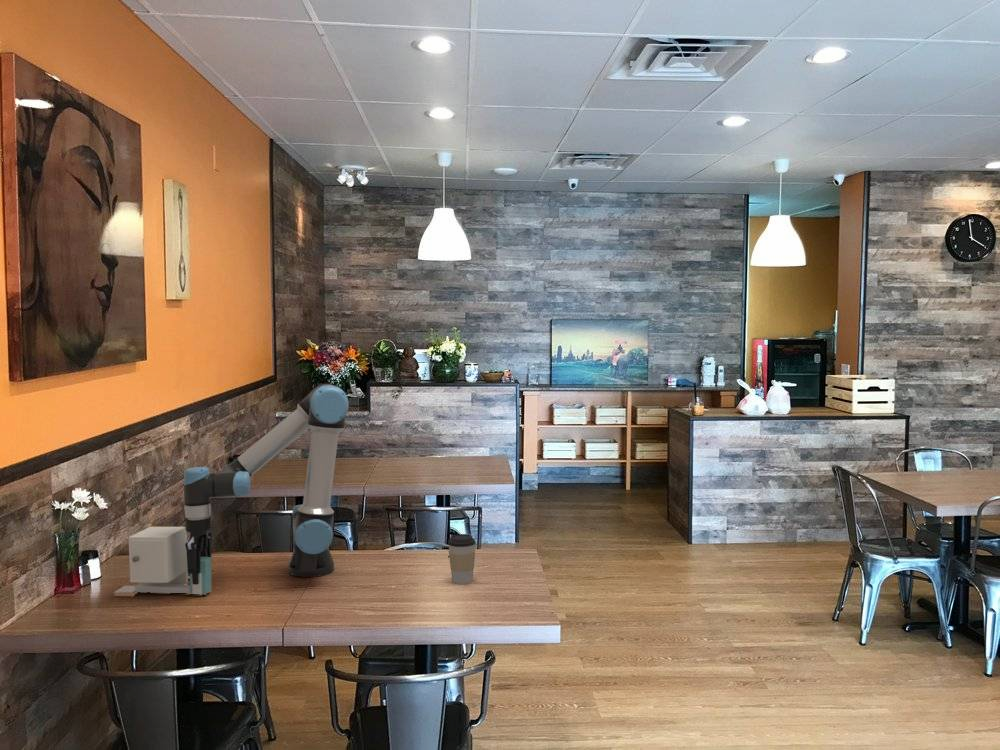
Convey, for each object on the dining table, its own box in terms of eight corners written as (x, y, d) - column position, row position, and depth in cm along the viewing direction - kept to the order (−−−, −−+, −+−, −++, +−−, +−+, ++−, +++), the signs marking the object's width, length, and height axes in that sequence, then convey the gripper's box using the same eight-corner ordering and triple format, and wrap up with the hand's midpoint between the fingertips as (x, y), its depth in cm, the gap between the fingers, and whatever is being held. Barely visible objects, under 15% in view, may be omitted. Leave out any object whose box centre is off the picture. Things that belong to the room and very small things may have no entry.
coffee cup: (478, 576, 259) (477, 532, 258) (474, 585, 250) (473, 539, 249) (451, 576, 259) (450, 531, 259) (446, 585, 250) (445, 539, 250)
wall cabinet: (188, 586, 252) (186, 526, 251) (166, 601, 238) (164, 538, 237) (152, 586, 253) (150, 526, 252) (128, 601, 239) (126, 538, 238)
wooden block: (143, 592, 249) (142, 585, 249) (132, 598, 243) (132, 592, 243) (124, 591, 250) (124, 585, 249) (114, 598, 244) (114, 591, 243)
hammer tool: (211, 591, 246) (211, 557, 246) (205, 595, 242) (205, 560, 242) (140, 588, 248) (140, 554, 247) (134, 592, 244) (133, 557, 243)
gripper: (198, 511, 252) (201, 582, 253) (173, 524, 235) (175, 600, 236) (221, 511, 251) (224, 582, 253) (197, 524, 234) (200, 600, 236)
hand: (200, 591), depth 244 cm, fingers closed on hammer tool, 4 cm apart
